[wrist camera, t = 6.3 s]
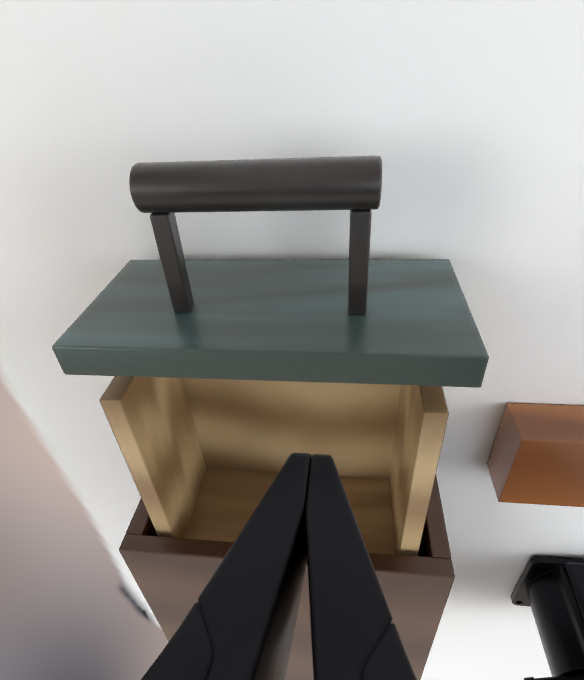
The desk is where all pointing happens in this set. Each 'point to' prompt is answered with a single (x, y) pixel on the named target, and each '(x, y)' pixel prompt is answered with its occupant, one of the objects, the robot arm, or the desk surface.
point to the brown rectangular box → (539, 455)
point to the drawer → (276, 356)
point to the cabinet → (392, 572)
